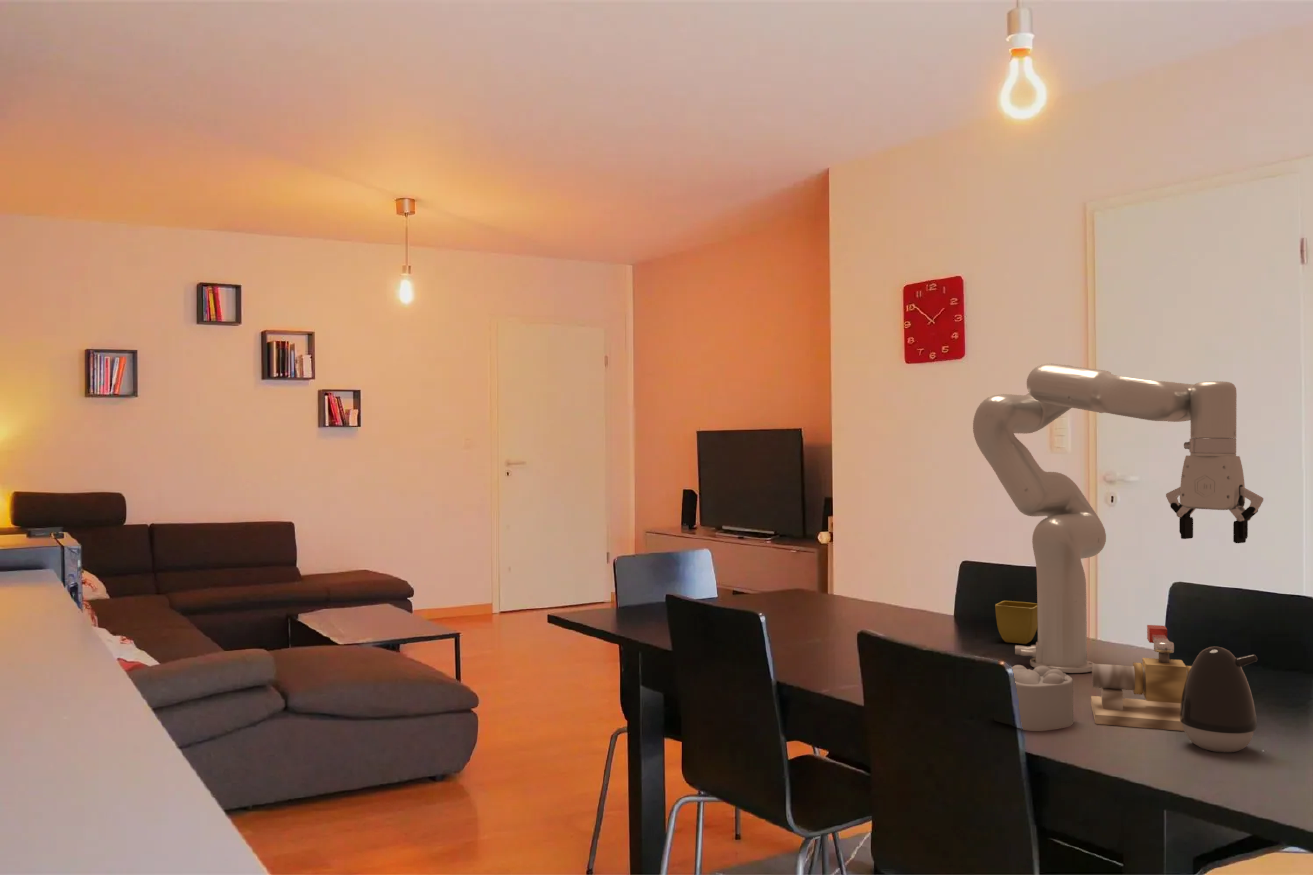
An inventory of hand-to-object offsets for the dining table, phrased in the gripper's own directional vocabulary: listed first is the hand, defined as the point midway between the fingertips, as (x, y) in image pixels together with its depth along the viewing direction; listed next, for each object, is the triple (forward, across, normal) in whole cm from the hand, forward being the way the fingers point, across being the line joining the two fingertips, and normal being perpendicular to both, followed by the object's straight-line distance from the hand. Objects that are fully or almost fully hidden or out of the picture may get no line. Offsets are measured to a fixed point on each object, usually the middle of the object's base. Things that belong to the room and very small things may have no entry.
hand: (1212, 540), depth 191 cm
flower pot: (+29, -53, +15) cm, 63 cm away
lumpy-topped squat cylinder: (+29, -6, -44) cm, 53 cm away
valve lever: (+17, +2, -21) cm, 27 cm away
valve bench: (+28, +5, -26) cm, 38 cm away
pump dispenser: (+28, +19, -35) cm, 49 cm away
